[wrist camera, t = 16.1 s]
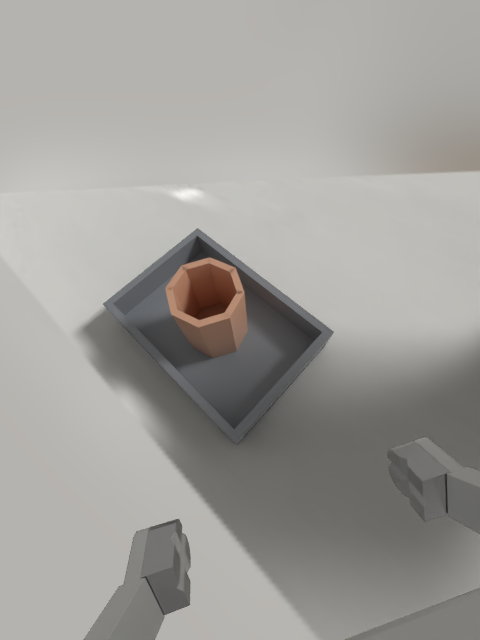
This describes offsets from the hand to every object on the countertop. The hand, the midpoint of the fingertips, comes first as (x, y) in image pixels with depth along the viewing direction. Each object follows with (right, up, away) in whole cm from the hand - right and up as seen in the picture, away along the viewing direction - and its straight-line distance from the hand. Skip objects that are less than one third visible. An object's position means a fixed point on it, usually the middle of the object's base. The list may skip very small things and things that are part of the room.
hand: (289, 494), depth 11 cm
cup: (-4, +5, +22) cm, 23 cm away
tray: (-4, +5, +22) cm, 23 cm away
